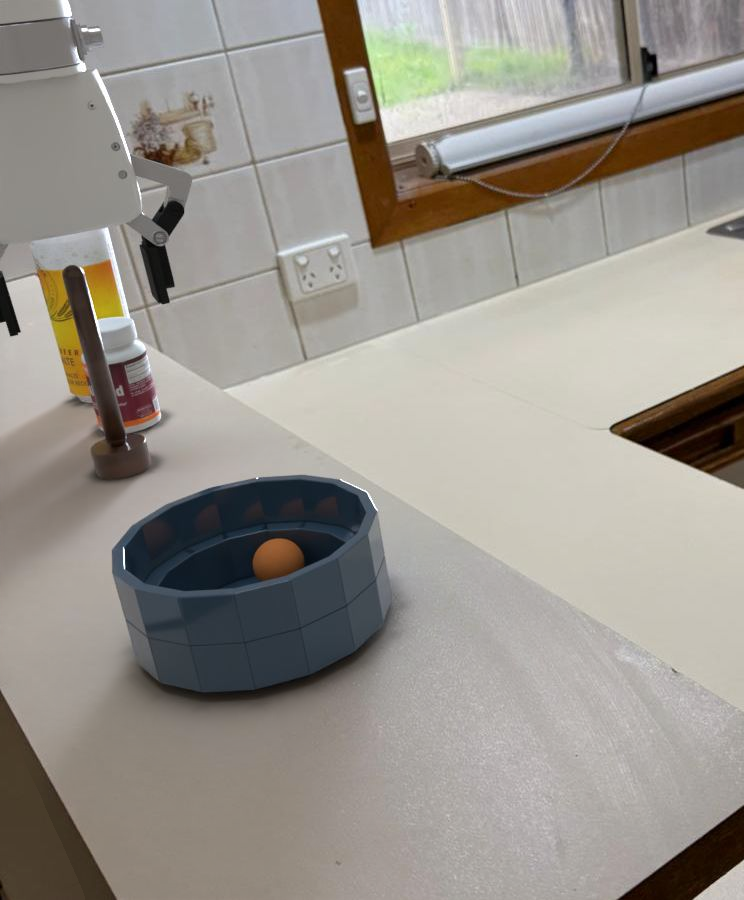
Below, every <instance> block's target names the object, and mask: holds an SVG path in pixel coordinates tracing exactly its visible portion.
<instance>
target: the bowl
mask: <svg viewBox="0 0 744 900" xmlns="http://www.w3.org/2000/svg"><path fill="white" fill-rule="evenodd" d="M278 538H281V539H287V540H290V541H292V542H293V543H295V544H296V545H297V546H298V547H299V548H300V550H301V551H302V553H303V556H304V562H305V563H304V568H302V569H300V570H298V571H296V572H293V573H291V574H289V575H287V576H283V577H279V578H275V579H271V580H267V581H263V582H260V581H259V580H258V579H257V577H256V575H255V573H254V570H253V558H254V555H255V553H256V551H257V550H258V548H259V547H260V546H261V545H262V544H264V543H265V542H267V541H269V540H272V539H278ZM386 559H387V558H386V554H385V548H384V541H383V536H382V531H381V525H380V519H379V512H378V509H377V507H376V506H375V504H374V502H373V500H372V498H371V495H370V494H369V493H368V491H366V490H364V489H362V488H360V487H358V486H356V485H353V484H352V483H349V482H347V481H346V480H343V479H340V478H333V477H324V476H316V475H310V474H291V475H289V474H288V475H275V476H260V477H259V476H258V477H253V478H248V479H244V480H238V481H235V482H229V483H224V484H221V485H215V486H210V487H208V488H205V489H203V490H200V491H198V492H194V493H192V494H189V495H186V496H184V497H182V498H179V499H176V500H174V501H171V502H168V503H166V504H164V505H162V506H161V507H159V508H158V509H156V510H154V511H153V512H151V513H149V514H148V515H146V516H145V517H143V518H141V519H140V520H138V521H137V522H135V523H133V524H132V525H131V526H130V527H129V528H128V530H127V531H126V532H125V534H123V536H122V537H121V538H120V539H119V540H118V542H117V543H116V544H115V545H114V546H113V547H112V549H111V575H112V577H113V581H114V584H115V588H116V591H117V595H118V599H119V602H120V607H121V609H122V613H123V616H124V619H125V623H126V627H127V631H128V635H129V638H130V641H131V645H132V649H133V652H134V656H135V659H136V662H137V664H138V665H139V666H140V667H141V668H142V669H143V670H144V671H146V673H148V674H149V675H151V677H153V679H155V680H156V681H158V683H160V684H162V685H168V686H172V687H177V688H180V689H186V690H190V691H194V692H199V693H219V692H220V693H221V692H239V691H254V690H259V689H262V688H267V687H272V686H275V685H280V684H284V683H287V682H290V681H293V680H296V679H299V678H303V677H306V676H309V675H313V674H314V673H317V672H319V671H320V670H322V669H324V668H326V667H328V666H330V665H332V664H334V663H336V662H338V661H340V660H341V659H343V658H345V657H348V656H349V655H352V654H353V653H354V652H356V651H358V649H359V648H360V647H361V646H362V645H363V644H364V643H365V642H367V641H368V640H369V638H371V637H372V636H373V635H374V634H375V633H376V632H377V631H378V630H379V629H380V628H381V627H382V626H383V624H384V623H385V622H384V621H385V619H386V616H387V613H388V610H389V608H390V605H391V602H392V598H393V596H392V589H391V585H390V584H391V583H390V578H389V571H388V565H387V560H386Z"/></svg>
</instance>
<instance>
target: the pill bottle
mask: <svg viewBox="0 0 744 900" xmlns="http://www.w3.org/2000/svg"><path fill="white" fill-rule="evenodd" d="M97 324H98V328H99V331H100V335H101V339H102V343H103V347H104V351H105V355H106V358H107V362H108V366H109V370H110V374H111V378H112V381H113V385H114V389H115V393H116V397H117V401H118V405H119V408H120V412H121V416H122V420H123V424H124V428H125V431H126V434H134V433H136V432H140V431H143V430H145V429H149V428H150V427H153V426H155V425H156V424H158V423H159V422H160V420H161V418H162V412H161V409H160V405H159V399H158V396H157V391H156V386H155V383H154V378H153V374H152V369H151V366H150V365H151V364H150V361H149V356H148V353H147V351H148V350H147V348H146V346H145V345H144V343H143V342H141V341H140V340H138V339H137V338H138V334H137V333H138V332H137V328H136V325H135V321H134V319H133V318H131V317H130V318H128V317H110V318H104V319H99V320H97ZM81 360H82V365H83V368H84V372H85V376H86V380H87V383H88V387H89V391H90V395H91V399H92V402H93V403H92V406H93V410H94V413H95V417H96V421H97V425H98V428H99V430H100V431H101V432H103V433H104V430H103V427H102V423H101V419H100V415H99V412H98V408H97V404H96V401H95V397H94V393H93V389H92V386H91V382H90V378H89V374H88V371H87V367H86V363H85V360H84V356H83V353H82V356H81Z"/></svg>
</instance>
